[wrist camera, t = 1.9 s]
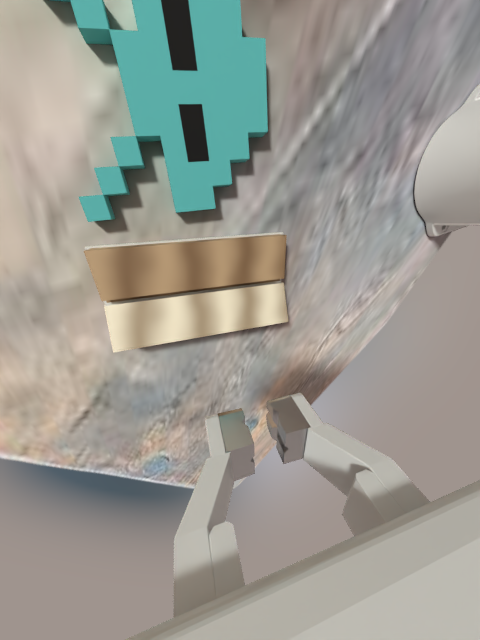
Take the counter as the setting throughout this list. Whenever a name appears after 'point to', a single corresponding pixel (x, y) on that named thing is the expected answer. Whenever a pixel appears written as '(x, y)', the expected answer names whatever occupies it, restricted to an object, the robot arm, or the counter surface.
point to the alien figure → (181, 94)
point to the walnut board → (185, 266)
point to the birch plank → (194, 316)
